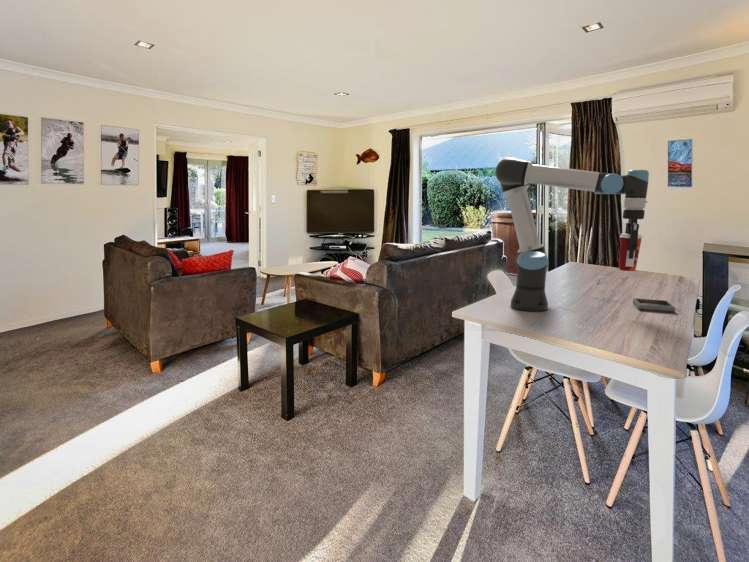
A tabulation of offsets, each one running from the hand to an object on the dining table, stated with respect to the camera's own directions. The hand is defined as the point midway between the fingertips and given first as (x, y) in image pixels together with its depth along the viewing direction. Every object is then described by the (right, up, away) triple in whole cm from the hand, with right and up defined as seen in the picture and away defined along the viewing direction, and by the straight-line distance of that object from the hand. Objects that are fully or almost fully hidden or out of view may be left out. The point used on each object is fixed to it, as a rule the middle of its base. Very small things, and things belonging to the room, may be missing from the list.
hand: (627, 264), depth 184 cm
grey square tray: (+15, -18, +7) cm, 24 cm away
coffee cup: (0, -2, 0) cm, 2 cm away
